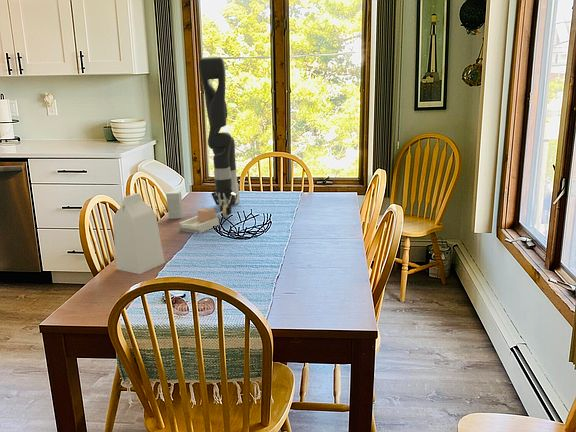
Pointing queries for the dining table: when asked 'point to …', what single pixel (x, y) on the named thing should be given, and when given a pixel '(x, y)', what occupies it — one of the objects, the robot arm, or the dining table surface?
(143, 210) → the milk
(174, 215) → the skincare box
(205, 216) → the peach block with knob
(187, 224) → the shelf lane
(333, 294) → the dining table surface
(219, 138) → the robot arm
